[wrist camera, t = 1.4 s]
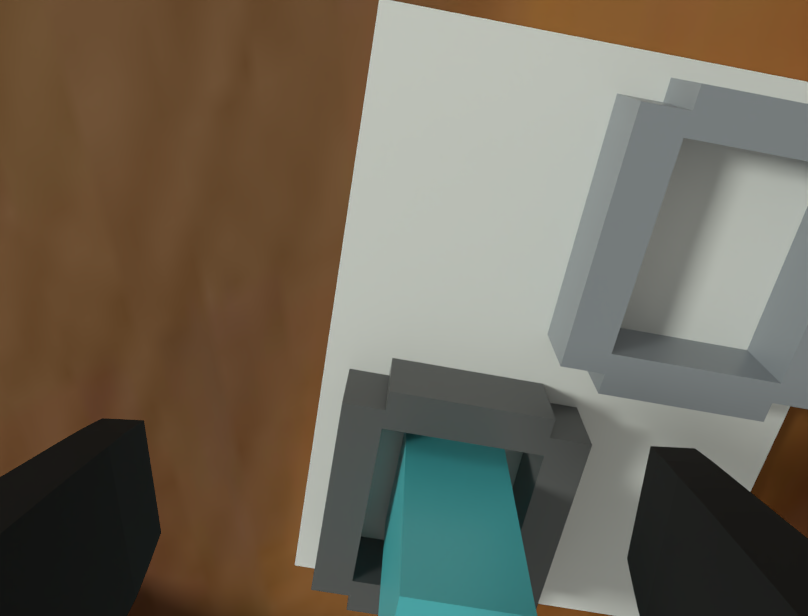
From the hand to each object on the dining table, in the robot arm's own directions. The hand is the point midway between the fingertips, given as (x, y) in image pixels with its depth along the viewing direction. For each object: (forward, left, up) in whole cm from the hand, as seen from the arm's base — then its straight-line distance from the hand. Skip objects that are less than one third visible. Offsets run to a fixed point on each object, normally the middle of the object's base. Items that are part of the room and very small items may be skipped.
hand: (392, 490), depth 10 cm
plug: (-7, -2, -10) cm, 12 cm away
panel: (-2, -5, -10) cm, 12 cm away
